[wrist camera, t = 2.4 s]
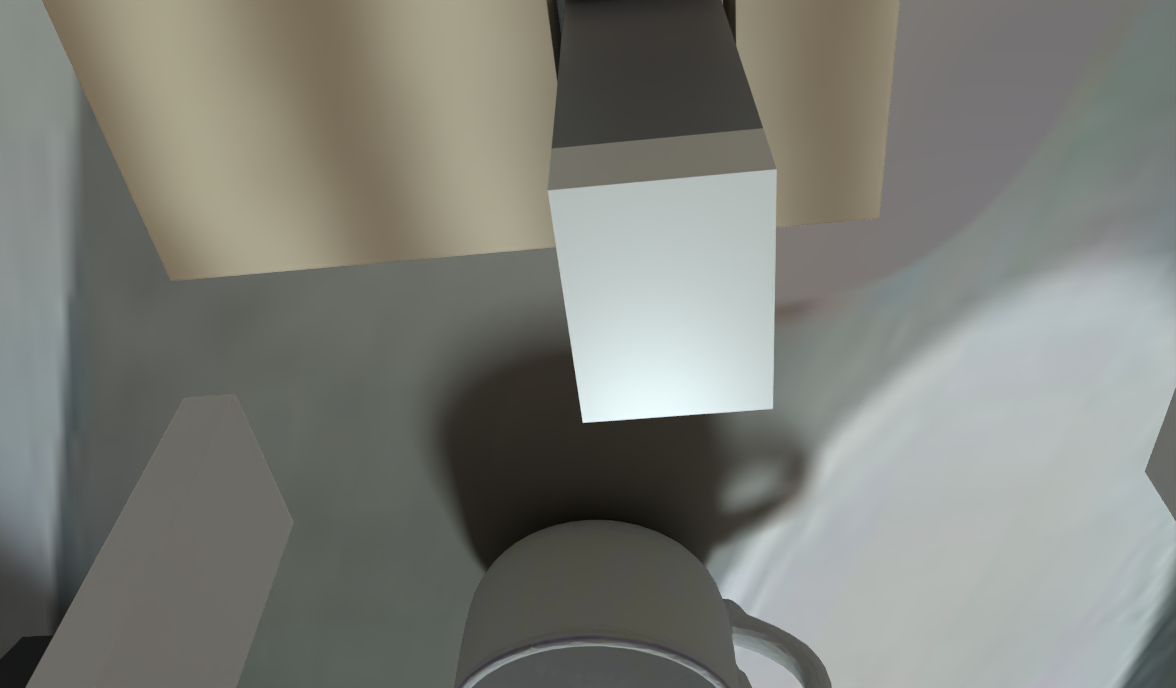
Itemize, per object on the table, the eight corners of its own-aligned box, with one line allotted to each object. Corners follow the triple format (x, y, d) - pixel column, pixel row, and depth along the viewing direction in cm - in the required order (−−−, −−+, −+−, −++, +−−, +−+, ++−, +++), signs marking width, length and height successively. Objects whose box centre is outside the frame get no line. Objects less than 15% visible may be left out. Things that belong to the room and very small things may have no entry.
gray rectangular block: (588, 145, 27) (582, 422, 18) (567, -30, 24) (547, 190, 15) (711, 134, 27) (772, 408, 17) (706, -45, 24) (776, 169, 14)
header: (206, 227, 29) (170, 281, 27) (96, -38, 24) (41, -2, 22) (854, 167, 28) (879, 218, 25) (876, -128, 23) (909, -100, 20)
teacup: (458, 630, 42) (433, 809, 35) (480, 460, 35) (454, 642, 29) (759, 661, 43) (787, 840, 37) (834, 503, 36) (883, 687, 30)
